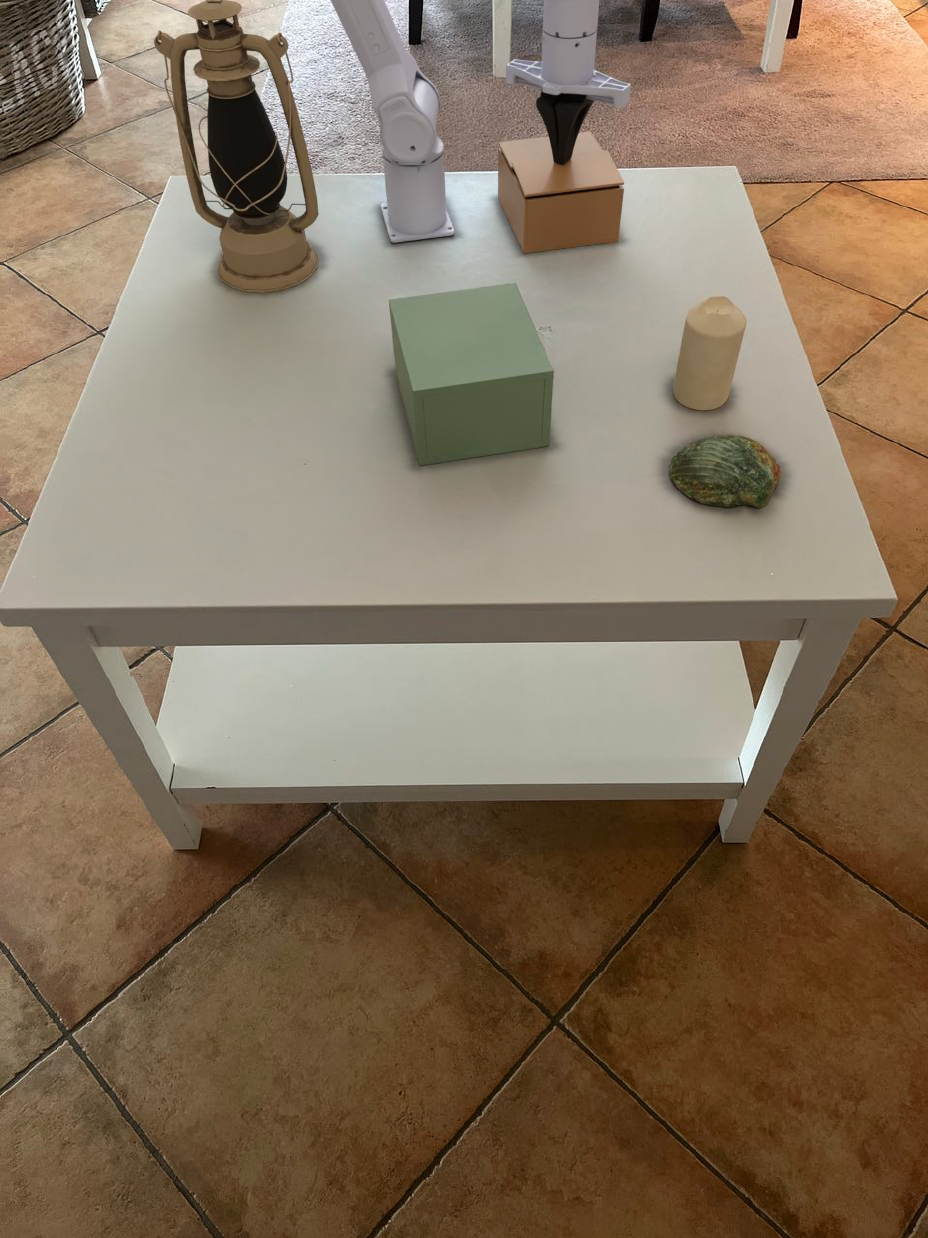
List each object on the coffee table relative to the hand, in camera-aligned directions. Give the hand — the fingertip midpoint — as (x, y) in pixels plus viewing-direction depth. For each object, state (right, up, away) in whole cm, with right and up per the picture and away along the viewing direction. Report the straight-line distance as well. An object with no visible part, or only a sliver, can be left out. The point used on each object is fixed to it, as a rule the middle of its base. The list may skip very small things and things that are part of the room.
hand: (562, 159), depth 107 cm
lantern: (-35, -12, +2) cm, 37 cm away
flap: (0, -2, -1) cm, 2 cm away
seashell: (+13, -41, -23) cm, 49 cm away
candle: (+12, -31, -15) cm, 37 cm away
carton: (0, -4, +7) cm, 8 cm away
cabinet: (-11, -33, -16) cm, 38 cm away
